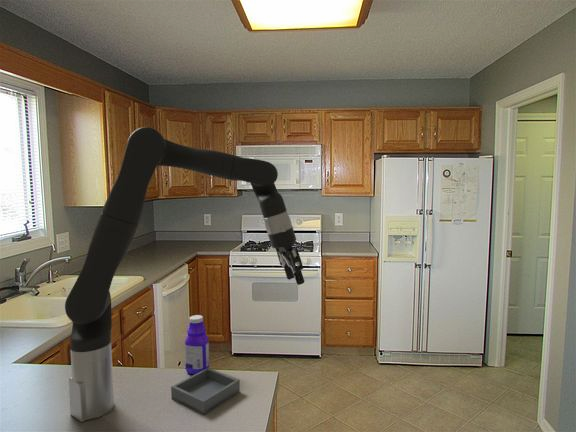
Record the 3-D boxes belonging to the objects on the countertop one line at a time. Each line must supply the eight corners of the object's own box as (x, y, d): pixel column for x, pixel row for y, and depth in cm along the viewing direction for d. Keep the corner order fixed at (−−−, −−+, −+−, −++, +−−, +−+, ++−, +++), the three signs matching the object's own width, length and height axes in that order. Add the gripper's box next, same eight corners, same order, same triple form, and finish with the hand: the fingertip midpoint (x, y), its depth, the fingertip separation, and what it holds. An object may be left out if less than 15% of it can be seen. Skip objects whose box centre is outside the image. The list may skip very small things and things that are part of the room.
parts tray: (203, 415, 92) (203, 401, 92) (171, 399, 100) (171, 386, 99) (239, 392, 103) (239, 380, 102) (208, 379, 110) (207, 367, 110)
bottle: (212, 368, 117) (210, 314, 116) (203, 377, 111) (201, 320, 110) (192, 365, 119) (190, 313, 118) (182, 374, 113) (180, 319, 112)
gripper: (261, 232, 113) (277, 281, 114) (275, 234, 99) (292, 290, 101) (283, 224, 115) (298, 272, 117) (299, 225, 101) (316, 280, 103)
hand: (295, 281), depth 109 cm, fingers open, 8 cm apart
